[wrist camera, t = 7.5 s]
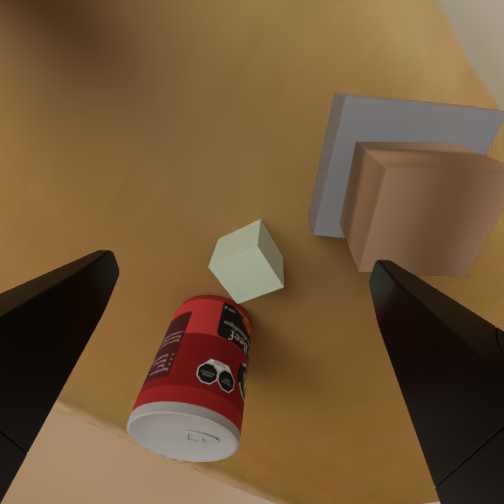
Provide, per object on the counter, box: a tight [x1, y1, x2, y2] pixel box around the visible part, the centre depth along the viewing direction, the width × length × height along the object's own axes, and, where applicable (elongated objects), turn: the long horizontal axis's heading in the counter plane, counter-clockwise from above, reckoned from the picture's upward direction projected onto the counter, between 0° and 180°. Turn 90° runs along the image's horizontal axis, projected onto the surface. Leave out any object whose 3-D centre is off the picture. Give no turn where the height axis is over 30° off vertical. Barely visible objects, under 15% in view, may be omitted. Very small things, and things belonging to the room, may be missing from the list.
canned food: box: [127, 295, 252, 462], centre depth 23 cm, size 8×8×11 cm
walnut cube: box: [340, 142, 504, 277], centre depth 14 cm, size 5×5×5 cm
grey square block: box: [309, 93, 504, 238], centre depth 17 cm, size 8×8×4 cm
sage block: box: [208, 219, 284, 304], centre depth 21 cm, size 4×4×4 cm
